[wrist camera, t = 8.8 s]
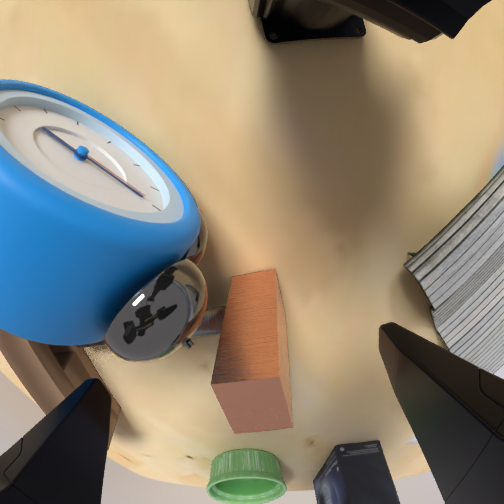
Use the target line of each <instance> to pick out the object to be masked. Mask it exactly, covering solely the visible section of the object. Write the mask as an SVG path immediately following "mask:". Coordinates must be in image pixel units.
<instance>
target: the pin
mask: <svg viewBox="0 0 504 504" xmlns="http://www.w3.org/2000/svg"><path fill="white" fill-rule="evenodd" d="M217 334H220V340H219V345H218V350H217V355H216V360H215V365H214V370H213V375H212V381H211V386H212V388H213V390H214V392H215V394H216V397H217V399H218V401H219V403H220V405H221V407H222V409H223V411H224V413H225V415H226V417H227V419H228V421H229V423H230V425H231V427H232V429H233V431H234V433H246V432H258V431H268V430H277V429H285V428H293V422H292V405H291V389H290V374H289V359H288V345H287V332H286V319H285V313H284V308H283V303H282V299H281V294H280V289H279V285H278V280H277V276H276V271H275V269H271V270H266V271H260V272H255V273H250V274H244V275H239V276H233V277H232V280H231V285H230V289H229V294H228V299H227V304H226V306H224V307H217V308H211V309H206V312H205V315H204V317H203V320H202V322H201V324H200V326H199V327H198V328H197V330H196V331H195V332H194V334H193V335H192V336H191V337H190V338H194V337H202V336H209V335H217ZM76 346H77V347H97V346H106V345H105V343H104V340H102V341H99V342H96V343H91V344H85V345H76Z"/></svg>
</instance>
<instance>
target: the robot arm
mask: <svg viewBox="0 0 504 504" xmlns="http://www.w3.org/2000/svg"><path fill="white" fill-rule="evenodd" d="M248 1H249V5H250V9H251V13H252V15H253V16H255V17H259V18H260V22H261V26H262V30H263V34H264V38H265V40H266V42H267V43H269V44H271V45H276V44H283V43H292V42H302V41H313V40H327V39H349V38H361V37H363V36H364V35H365V34H366V29H365V25H364V21H363V19H365V20H367V21H369V22H371V23H373V24H376V25H378V26H380V27H382V28H384V29H386V30H388V31H390V32H392V33H394V34H395V35H397V36H399V37H402V38H405V39H409V40H410V39H412V40H414V41H416V42H418V43H423V42H426V41H429V40H432V39H436V38H437V37H439V36H441V35H442V34H445V35H446V36H448V37H449V38H451V39H453V38H455V37H456V35H457V34H458V33H459V31H460V30H461V29H462V27H463V26H464V25H465V23H466V22H467V21H468V19H470V18H471V17H472V16H473V15H474V14H475V13H476V12H477V11H478V10H479V9H480V8H481V7H482V6H484V5H485V4H487V3H488V2H490V1H491V0H248ZM355 28H358V29H359V30H360V34H359V33H357V32H356V31H355ZM270 34H275V35H276V36H277V39H275V40H273V39H271V38H270V37H269V35H270ZM379 351H380V354H381V357H382V360H383V362H384V365H385V368H386V370H387V373H388V376H389V379H390V382H391V384H392V387H393V390H394V393H395V395H396V397H397V399H398V401H399V403H400V405H401V407H402V409H403V411H404V413H405V415H406V418H407V420H408V422H409V424H410V426H411V428H412V430H413V432H414V434H415V436H416V439H417V441H418V443H419V445H420V447H421V449H422V452H423V454H424V456H425V458H426V460H427V463H428V465H429V467H430V469H431V472H432V474H433V476H434V478H435V481H436V483H437V485H438V488H439V490H440V492H441V495H442V497H443V500H444V501H445V504H504V379H502V378H500V377H498V376H496V375H494V374H492V373H490V372H488V371H486V370H484V369H482V368H479V367H478V366H476V365H474V364H472V363H470V362H468V361H467V360H465V359H463V358H461V357H459V356H457V355H455V354H453V353H451V352H449V351H447V350H446V349H444V348H442V347H440V346H438V345H436V344H434V343H432V342H430V341H428V340H426V339H424V338H423V337H421V336H419V335H417V334H415V333H413V332H411V331H409V330H407V329H405V328H403V327H402V326H400V325H398V324H396V323H394V322H389V323H386V324H383V325H381V326H380V327H379ZM111 404H112V398H111V395H110V393H109V391H108V390H107V389H106V387H105V386H104V384H103V383H102V381H101V380H100V379H99V378H88V379H87V380H85V381H84V382H83V383H82V384H81V385H80V386H79V387H77V388H76V389H75V390H74V391H73V392H72V393H71V394H70V395H69V396H67V397H66V398H65V399H64V400H63V401H62V402H61V403H60V404H58V405H57V406H56V407H55V408H54V409H53V410H52V411H51V412H50V413H48V414H47V415H46V416H45V417H44V418H43V419H42V420H41V421H40V422H38V424H36V425H35V426H34V427H33V428H32V429H31V430H30V431H29V432H28V433H26V434H25V435H24V436H23V438H21V439H20V440H19V441H18V442H16V443H15V444H14V445H13V446H12V447H11V448H10V449H8V450H7V451H6V452H5V453H3V454H2V455H1V456H0V504H101V495H102V486H103V478H104V470H105V463H106V456H107V449H108V442H109V433H110V417H111Z"/></svg>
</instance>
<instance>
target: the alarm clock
mask: <svg viewBox="0 0 504 504" xmlns="http://www.w3.org/2000/svg"><path fill="white" fill-rule="evenodd" d="M207 239H208V229H207V224H206V221H205V218H204V216H203V214H202V213H201V211H200V210H199V209H198V207H197V204H196V202H195V200H194V198H193V196H192V194H191V192H190V191H189V189H188V188H187V187H186V185H185V184H184V183H183V181H182V180H181V179H180V178H179V176H178V175H177V174H176V173H175V172H174V171H173V170H172V169H171V168H170V167H169V166H168V165H167V164H166V163H165V162H164V161H163V160H162V159H161V158H160V157H159V156H158V155H157V154H156V153H155V152H154V151H152V150H151V149H150V148H149V147H148V146H147V145H145V144H144V143H143V142H142V141H140V140H139V139H138V138H136V137H135V136H134V135H132V134H131V133H130V132H128V131H127V130H126V129H124V128H123V127H121V126H120V125H118V124H117V123H115V122H114V121H112V120H111V119H109V118H107V117H106V116H104V115H103V114H101V113H99V112H97V111H96V110H94V109H92V108H90V107H89V106H87V105H85V104H83V103H81V102H79V101H77V100H75V99H73V98H71V97H68V96H66V95H64V94H61V93H59V92H57V91H54V90H51V89H48V88H46V87H42V86H39V85H36V84H32V83H28V82H23V81H17V80H5V79H2V80H0V329H2V330H4V331H6V332H8V333H10V334H12V335H15V336H18V337H21V338H24V339H27V340H31V341H35V342H39V343H44V344H52V345H69V346H73V345H85V344H91V343H96V342H99V341H102V340H104V343H105V345H106V346H107V347H108V348H109V349H110V350H111V351H112V352H113V353H114V354H115V355H116V356H118V357H120V358H122V359H124V360H126V361H130V362H135V363H150V362H155V361H159V360H161V359H164V358H166V357H168V356H170V355H171V354H173V353H174V352H175V351H176V350H178V349H179V348H180V347H181V346H182V345H183V346H185V347H186V348H187V349H190V348H191V347H192V346H193V345H194V343H193V342H192V341H191V339H190V337H191V336H192V335H193V334H194V332H195V331H196V330H197V328H198V327H199V326H200V324H201V322H202V320H203V317H204V315H205V312H206V307H207V303H208V290H207V285H206V281H205V279H204V277H203V274H202V272H201V271H200V270H199V268H198V267H197V265H198V264H199V262H200V261H201V259H202V257H203V255H204V253H205V250H206V246H207Z"/></svg>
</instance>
